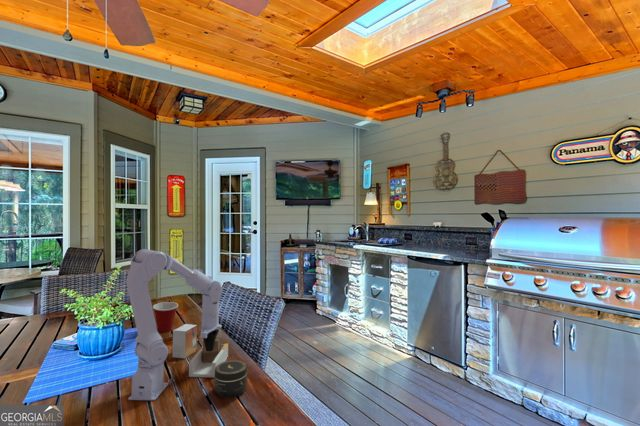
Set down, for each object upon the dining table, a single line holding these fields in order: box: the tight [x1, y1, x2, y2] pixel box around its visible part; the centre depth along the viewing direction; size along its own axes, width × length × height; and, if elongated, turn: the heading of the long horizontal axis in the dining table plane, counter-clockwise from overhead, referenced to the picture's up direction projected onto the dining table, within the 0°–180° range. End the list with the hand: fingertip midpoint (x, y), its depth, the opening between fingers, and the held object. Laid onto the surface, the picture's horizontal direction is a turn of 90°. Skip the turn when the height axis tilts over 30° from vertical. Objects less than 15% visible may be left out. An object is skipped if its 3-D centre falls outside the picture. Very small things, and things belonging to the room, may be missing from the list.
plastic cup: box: [152, 301, 179, 333], centre depth 155 cm, size 11×11×12 cm
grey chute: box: [188, 343, 229, 378], centre depth 120 cm, size 16×9×5 cm, turn 1°
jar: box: [213, 359, 248, 399], centre depth 104 cm, size 10×10×8 cm
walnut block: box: [202, 335, 223, 362], centre depth 123 cm, size 5×6×8 cm
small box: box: [171, 323, 198, 359], centre depth 130 cm, size 8×6×10 cm
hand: (209, 350), depth 120 cm, fingers closed
